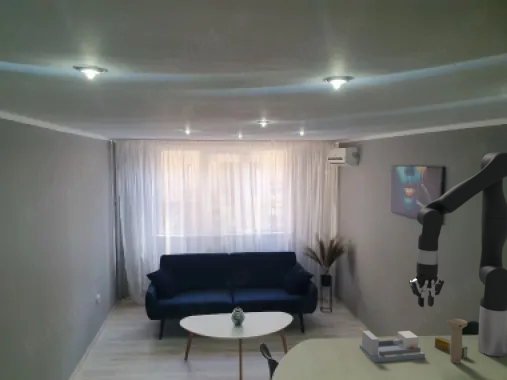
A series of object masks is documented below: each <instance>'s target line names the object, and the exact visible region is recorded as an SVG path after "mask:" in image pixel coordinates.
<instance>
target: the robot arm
mask: <svg viewBox="0 0 507 380" xmlns="http://www.w3.org/2000/svg"><path fill="white" fill-rule="evenodd" d="M506 177H507V152H504V151H495V152H494V151H493V152H489V153H486V154H485V155H484V156H483V158H482V159H481V161H480V170H479V172H477V173H475V174H474V175H473V176H470V177H469V178H466V179H465V180H463V181H461V182H460V183H458V184H457V185H455V186H453V187H451V188H450V189H449V190H448V191H446V192H444V193H443V194H442V195H441V196H440V197H439V198H437V199H435V200H433V201H432V202H430V203H428V204H426V205H425V206H423V207H422V208H420V210H419V211H418V212H417V214H416V220H417V222H418V223H419V224H420V225H421V226H422V230H421V233H420V234H419V235H418V239H417V240H418V241H417V252H416V269H415V270H416V276H415V278H414V279H413V280H408V283H409V286H410V289H411V292H412V293H413V295H414V296H416V297H417V304H418V306H419V307H420V308H424V307H425V297H424V296H425V292H427V294H428V295H427V306H428V307H433V306H434V305H435V297H436V296H439V295H440V293H441V290H443V289H442V288H443V285H444V284H445V280H443V279H441V278H439V277H438V273H439V238H440V233H441V230H442V227H443V216H445V215H446V214H447V215H448V214H451V213H454V212H455V211H457V210H458V209H459V208H461V207H462V206H463V205H464V204H465V203H467V202H468V201H469V200H471V199H472V198H473V197H475V196H476V195H478V194H479V193H482V196H481V197H482V198H481V222H480V224H481V227H480V228H481V235H480V236H481V251H480V252H481V253H480V260H479V269H478V277H479V280H480V282H481V283H482V284H483V285H484V292H483V296H482V297H481V298H480V300H479V317H478V318H479V319H478V320H479V321H478V338H477V350H478V352H480V353H482V354H484V353H485V354H484V355H486V354H487V356H489V357H495V356H499V357H500V358H501V357H504V356H506V355H507V269H506V268H505V267H503V249H504V246H505V243H506V241H507V199H506V198H505V194H504V188H503V187H504V186H503V185H504V183H503V182H504V178H506ZM499 357H498V358H499Z"/></svg>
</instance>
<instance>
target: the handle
mask: <svg viewBox="0 0 507 380" xmlns="http://www.w3.org/2000/svg"><path fill="white" fill-rule="evenodd" d="M446 323H447V325H448V326H450V327H451V333H450V336H451V337H450V341H451V342H450V353H449V354H450V359H449V360H450V362H451V363H453V364H460V363H461V362H462V358H461V356H462V345H463V329H464V328H466V327H468V321H467V320H464V319H461V318H449V319H447V321H446Z"/></svg>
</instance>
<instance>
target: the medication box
mask: <svg viewBox="0 0 507 380" xmlns="http://www.w3.org/2000/svg"><path fill="white" fill-rule="evenodd" d="M450 342H451V339H447V338H444V337H441V336H436V337H435V338H434V348H436V349H438V350H440V351H443V352H446V353H448V354H450ZM468 349H469V348H468V346H465V345H463V344H462V356H461V359H464V360H465V359H466V358H468Z"/></svg>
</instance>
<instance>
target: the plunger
mask: <svg viewBox="0 0 507 380" xmlns="http://www.w3.org/2000/svg"><path fill="white" fill-rule="evenodd" d="M395 339H396V340H393V343H394V344H397V345H399V346H400V347H401V348H402V349H406V348H414V349H416V348H417V347H419V336H418V335H416V334H415V333H414V332H412V331H411V330H402V331H397V338H395Z"/></svg>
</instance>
